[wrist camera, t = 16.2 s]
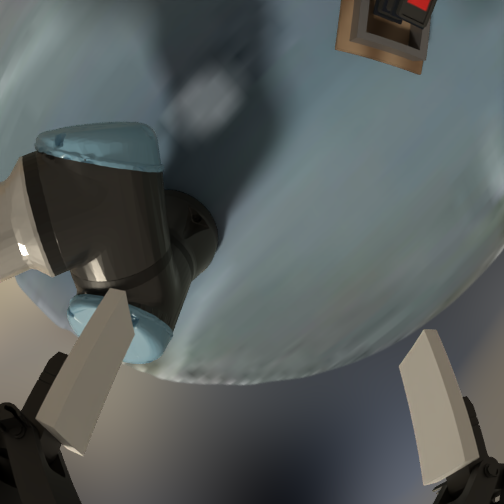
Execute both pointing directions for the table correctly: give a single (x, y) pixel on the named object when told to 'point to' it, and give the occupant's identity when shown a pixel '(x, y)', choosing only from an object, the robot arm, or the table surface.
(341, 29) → the board
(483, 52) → the table surface
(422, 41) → the cradle
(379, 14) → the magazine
